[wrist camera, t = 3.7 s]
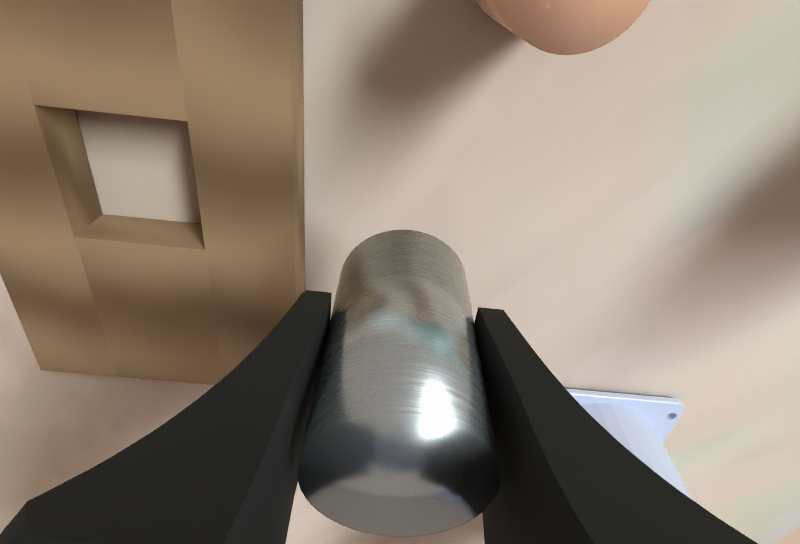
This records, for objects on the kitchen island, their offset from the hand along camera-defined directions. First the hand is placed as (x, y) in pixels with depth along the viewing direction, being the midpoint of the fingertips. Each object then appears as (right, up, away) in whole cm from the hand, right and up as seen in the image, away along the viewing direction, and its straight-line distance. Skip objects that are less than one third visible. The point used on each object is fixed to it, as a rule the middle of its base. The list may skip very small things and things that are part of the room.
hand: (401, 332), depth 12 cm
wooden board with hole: (-10, +6, +7) cm, 13 cm away
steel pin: (0, +1, +2) cm, 2 cm away
